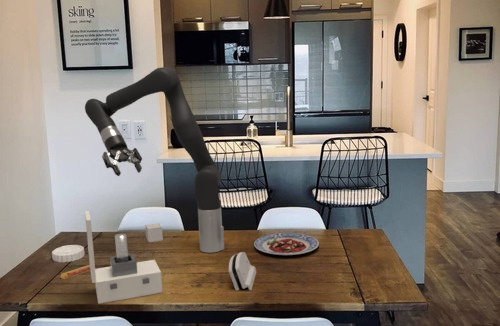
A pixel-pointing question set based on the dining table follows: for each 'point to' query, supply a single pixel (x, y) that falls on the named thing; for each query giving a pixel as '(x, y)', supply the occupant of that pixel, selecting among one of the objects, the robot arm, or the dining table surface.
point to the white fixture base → (122, 277)
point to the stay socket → (123, 266)
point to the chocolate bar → (75, 272)
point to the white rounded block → (241, 271)
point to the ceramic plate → (286, 243)
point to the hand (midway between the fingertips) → (129, 172)
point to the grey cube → (153, 232)
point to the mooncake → (68, 253)
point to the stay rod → (121, 248)
